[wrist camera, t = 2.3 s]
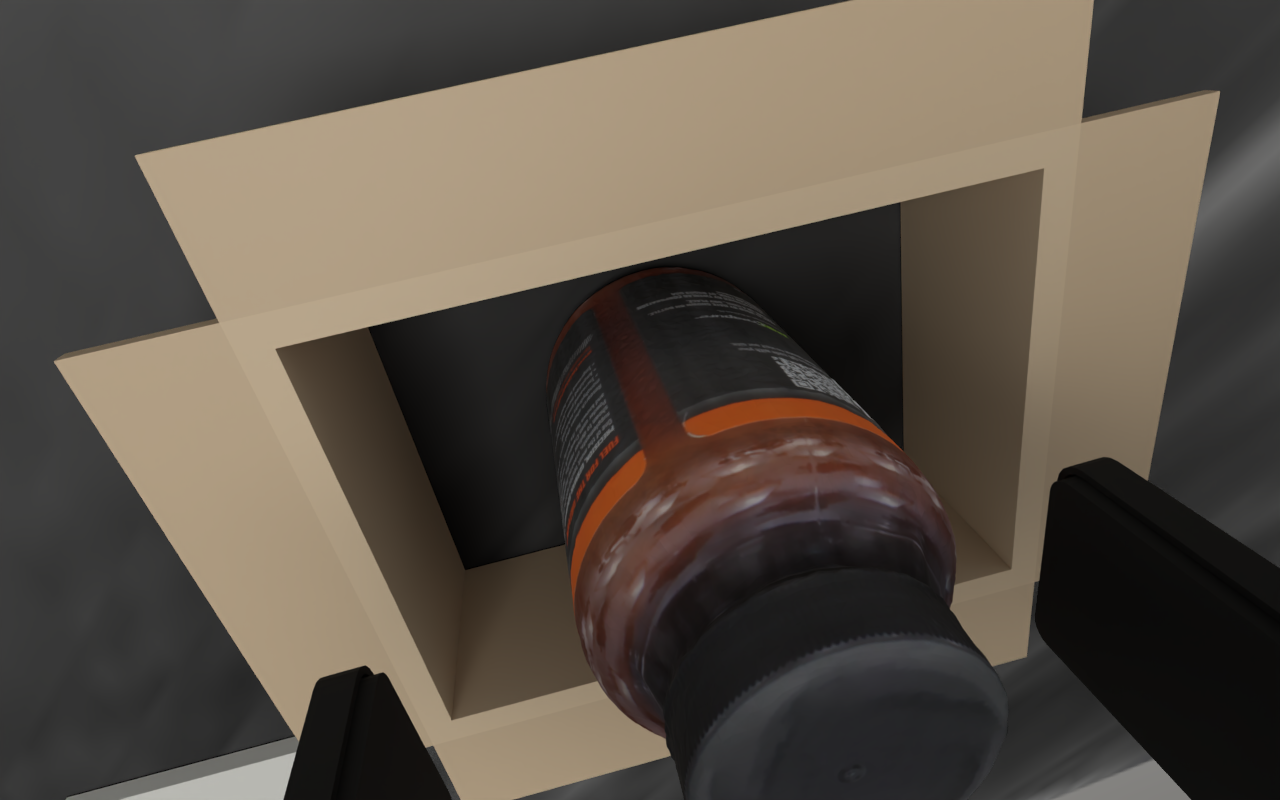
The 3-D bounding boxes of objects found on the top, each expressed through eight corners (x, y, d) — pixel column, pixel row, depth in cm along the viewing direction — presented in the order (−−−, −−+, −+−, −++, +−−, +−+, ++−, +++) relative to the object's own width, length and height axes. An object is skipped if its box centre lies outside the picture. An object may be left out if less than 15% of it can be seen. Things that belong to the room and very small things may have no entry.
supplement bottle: (563, 489, 19) (620, 974, 9) (524, 279, 16) (545, 639, 6) (775, 451, 20) (1047, 867, 10) (771, 242, 17) (1147, 520, 7)
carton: (1034, -46, 15) (1253, -87, 11) (998, 514, 22) (1119, 630, 18) (126, 150, 14) (-54, 196, 9) (394, 674, 21) (362, 841, 17)
